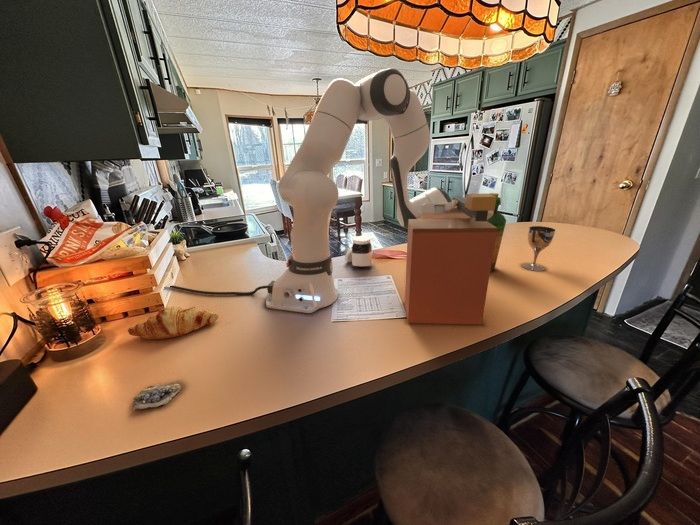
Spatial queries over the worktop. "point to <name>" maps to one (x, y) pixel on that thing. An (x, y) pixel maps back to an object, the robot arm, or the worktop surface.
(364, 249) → the spread jar
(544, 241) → the silver goblet
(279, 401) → the worktop surface
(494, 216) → the bottle
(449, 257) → the stand
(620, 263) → the worktop surface
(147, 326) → the croissant
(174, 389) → the crystal geode
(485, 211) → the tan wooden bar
